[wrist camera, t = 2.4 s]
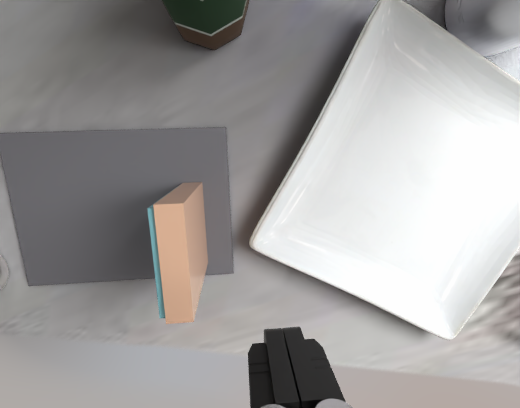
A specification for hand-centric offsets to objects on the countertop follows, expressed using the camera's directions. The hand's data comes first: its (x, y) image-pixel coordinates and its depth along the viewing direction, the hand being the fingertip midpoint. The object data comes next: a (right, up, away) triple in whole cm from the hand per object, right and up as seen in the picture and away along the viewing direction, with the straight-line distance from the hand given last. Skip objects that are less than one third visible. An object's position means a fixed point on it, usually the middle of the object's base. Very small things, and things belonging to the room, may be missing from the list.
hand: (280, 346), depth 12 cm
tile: (-8, +4, +19) cm, 21 cm away
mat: (-15, +6, +19) cm, 25 cm away
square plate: (+16, +8, +21) cm, 28 cm away
